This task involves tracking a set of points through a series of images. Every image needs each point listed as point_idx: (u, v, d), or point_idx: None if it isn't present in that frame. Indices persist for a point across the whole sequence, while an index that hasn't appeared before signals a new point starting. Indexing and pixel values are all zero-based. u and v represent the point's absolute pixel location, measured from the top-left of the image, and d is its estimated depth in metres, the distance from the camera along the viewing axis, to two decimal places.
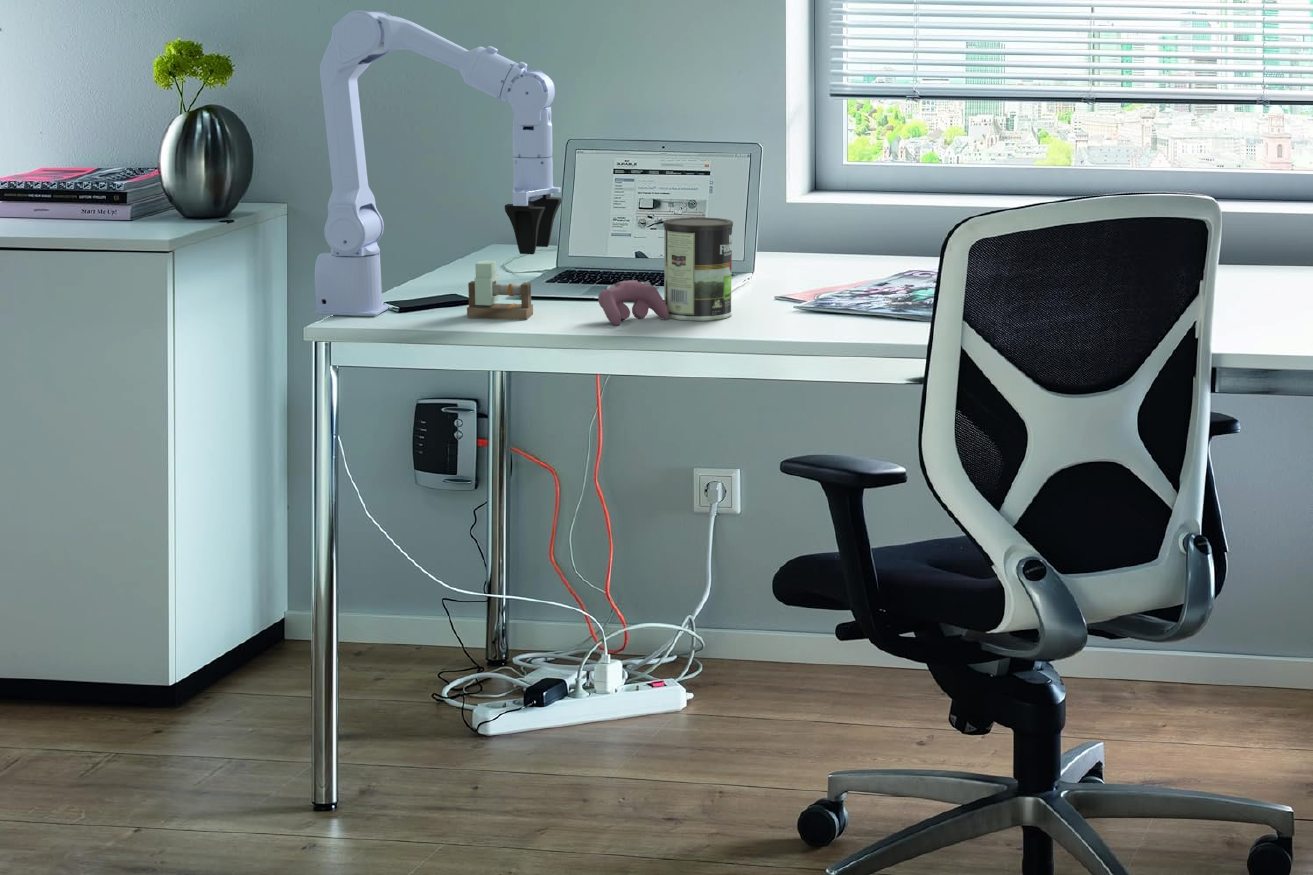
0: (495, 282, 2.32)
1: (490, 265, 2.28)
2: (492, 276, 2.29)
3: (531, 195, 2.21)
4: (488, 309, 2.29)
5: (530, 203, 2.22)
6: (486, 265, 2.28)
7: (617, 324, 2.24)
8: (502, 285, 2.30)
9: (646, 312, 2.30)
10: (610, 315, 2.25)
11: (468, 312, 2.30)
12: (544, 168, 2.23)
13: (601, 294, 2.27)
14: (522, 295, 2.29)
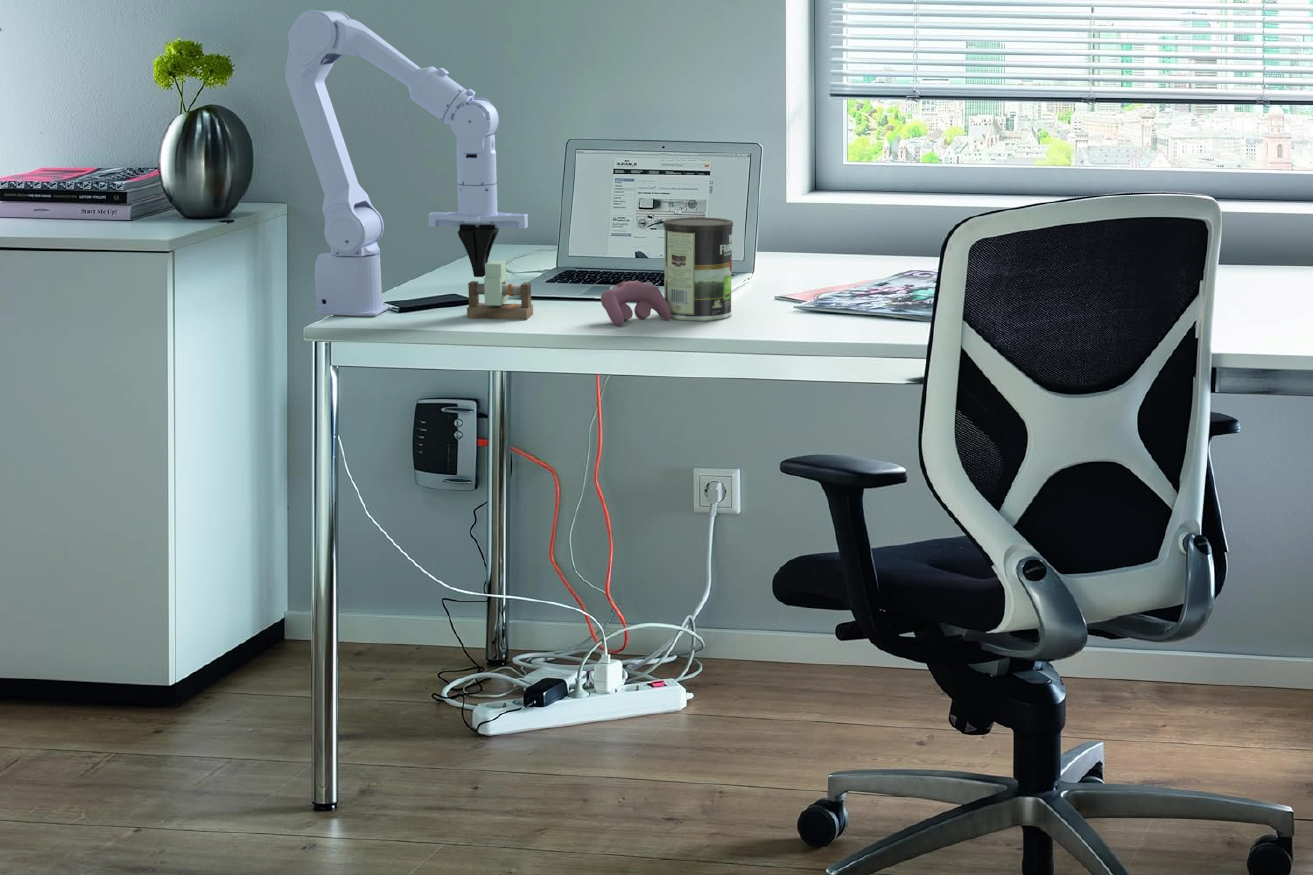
0: (504, 282, 2.32)
1: (500, 265, 2.28)
2: (502, 276, 2.29)
3: (439, 218, 2.28)
4: (488, 309, 2.29)
5: None
6: (496, 265, 2.28)
7: (620, 325, 2.24)
8: (502, 285, 2.30)
9: (649, 313, 2.29)
10: (613, 315, 2.24)
11: (468, 312, 2.30)
12: (461, 195, 2.26)
13: (604, 295, 2.26)
14: (522, 295, 2.29)
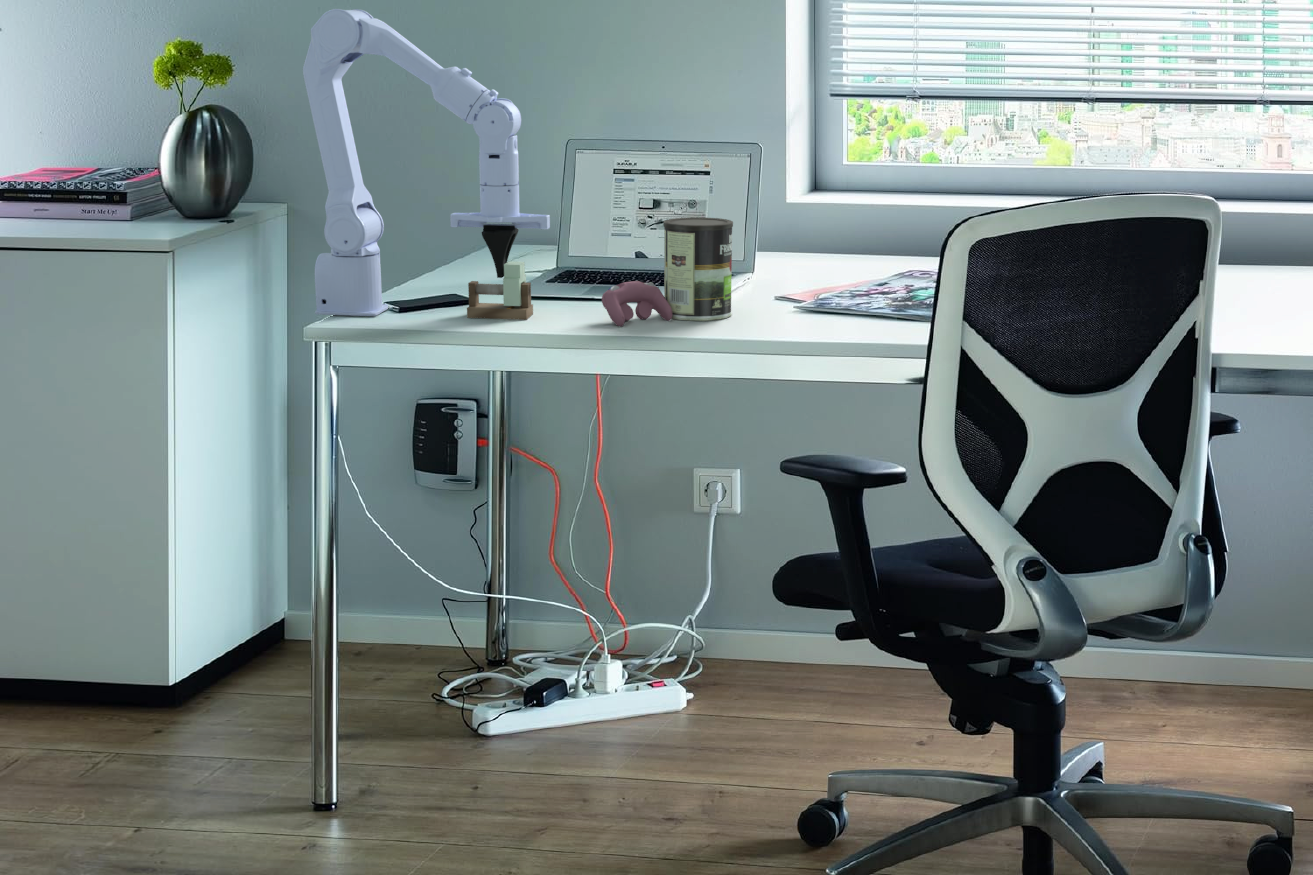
0: None
1: (519, 266, 2.28)
2: (520, 277, 2.29)
3: (461, 218, 2.27)
4: (488, 309, 2.29)
5: None
6: (515, 266, 2.28)
7: (621, 325, 2.24)
8: (502, 285, 2.30)
9: (649, 313, 2.29)
10: (614, 316, 2.24)
11: (468, 312, 2.30)
12: (483, 195, 2.25)
13: (605, 295, 2.26)
14: (522, 295, 2.29)
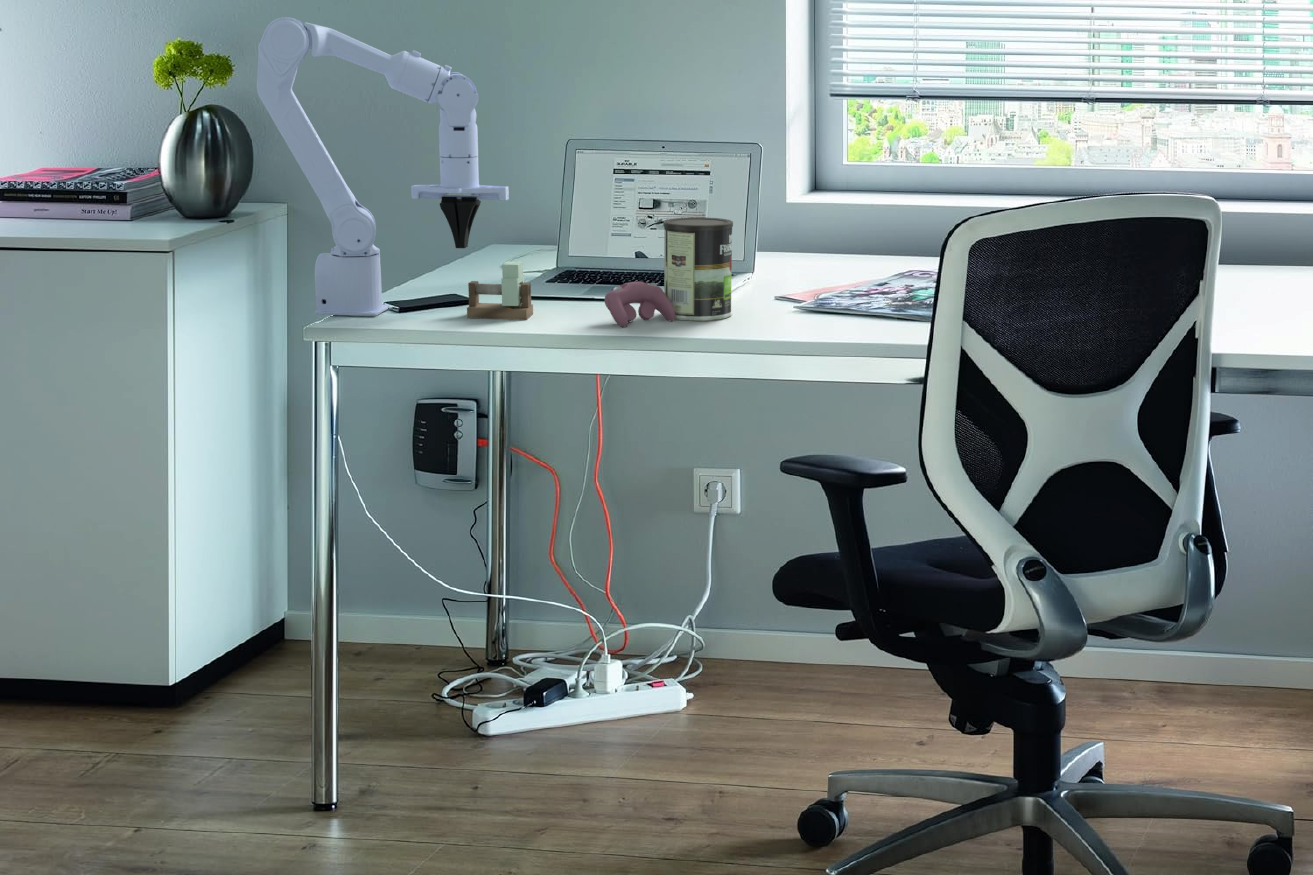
0: (522, 283, 2.31)
1: (517, 266, 2.28)
2: (519, 277, 2.29)
3: (422, 190, 2.32)
4: (488, 309, 2.29)
5: (428, 198, 2.33)
6: (513, 266, 2.28)
7: (624, 325, 2.23)
8: None
9: (652, 313, 2.29)
10: (617, 316, 2.24)
11: (468, 312, 2.30)
12: (443, 167, 2.30)
13: (607, 295, 2.26)
14: (522, 295, 2.29)
